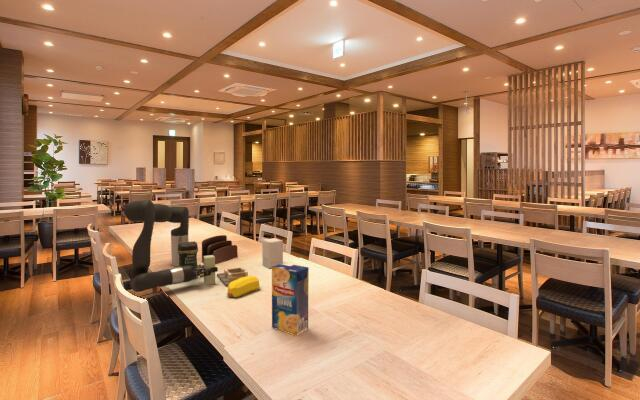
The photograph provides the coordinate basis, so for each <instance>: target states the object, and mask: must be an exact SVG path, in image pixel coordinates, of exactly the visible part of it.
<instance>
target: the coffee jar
mask: <svg viewBox="0 0 640 400" xmlns="http://www.w3.org/2000/svg"><path fill="white" fill-rule="evenodd" d="M198 251H199V246H198V243H197V242H196V241H189V242H183V243H179V244H178V254H179V266H184V265H190V266H193V265H198V257H197V256H198ZM179 266H178V267H179ZM198 278H199V276H198V277H195V276H194V277H193V278H192V280H197V279H198Z"/></svg>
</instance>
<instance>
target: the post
mask: <svg viewBox="0 0 640 400" xmlns="http://www.w3.org/2000/svg"><path fill="white" fill-rule="evenodd" d="M203 262H204V263H203ZM203 262H202V263H203V265H204V268H213V267H216V264H215V257H214V256H213V255H208V256H203ZM203 282H204V285H205V286H207V285H215V284H216V272H213V273H211V275H208V276H205V277H203Z"/></svg>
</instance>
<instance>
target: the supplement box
mask: <svg viewBox="0 0 640 400" xmlns="http://www.w3.org/2000/svg"><path fill="white" fill-rule="evenodd" d="M261 243H262V248H261V249H262V266H263V267H265V268H267V269H272V267H273V266H276V265H279V264H282V263H284V241H283V240H282V239H279V238H277V237H274V238H266V239H265V238H264V239H262V241H261Z"/></svg>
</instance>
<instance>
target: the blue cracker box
mask: <svg viewBox="0 0 640 400" xmlns="http://www.w3.org/2000/svg"><path fill="white" fill-rule="evenodd" d="M309 269H310V267H308V266H304V265H298V264H292V263H289V262H283V263H282V264H279V265H276V266H273V267H272V268H271V328H272V327H274V328H277V329H280V330H283V331H286V332H289V333H292V334H294V335H293V336H295V335H297V334H299V333H300V334H301V332H302V331H303V332H305V331H306V330H308V329H309V274H310V273H309V272H310V271H309ZM274 328H273V329H274ZM307 328H308V329H307ZM277 329H276V330H277ZM305 329H306V330H305ZM280 330H279V331H280ZM304 330H305V331H304ZM283 331H282V332H283ZM286 332H285V333H286ZM303 332H302V333H303ZM289 333H288V334H289ZM292 334H291V335H292ZM300 334H299V335H300ZM297 336H298V335H297Z"/></svg>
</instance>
